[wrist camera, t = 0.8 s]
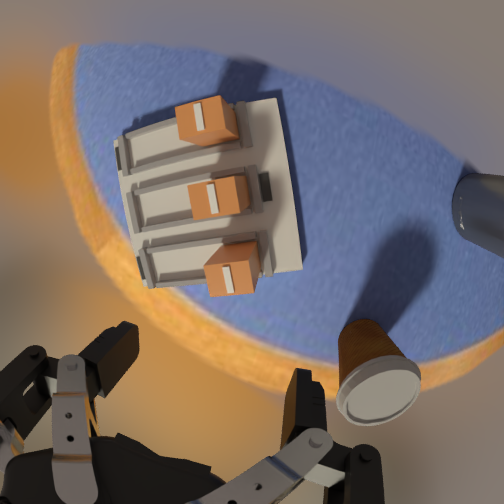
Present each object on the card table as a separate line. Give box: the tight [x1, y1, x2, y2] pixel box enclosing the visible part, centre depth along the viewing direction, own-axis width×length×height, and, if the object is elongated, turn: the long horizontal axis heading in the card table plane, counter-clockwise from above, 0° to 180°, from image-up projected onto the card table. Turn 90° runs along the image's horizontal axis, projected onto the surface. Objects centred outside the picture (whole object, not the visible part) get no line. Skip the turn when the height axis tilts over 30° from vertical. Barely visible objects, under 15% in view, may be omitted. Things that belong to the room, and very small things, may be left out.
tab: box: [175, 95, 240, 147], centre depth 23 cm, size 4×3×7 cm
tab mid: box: [187, 176, 251, 220], centre depth 25 cm, size 4×3×7 cm
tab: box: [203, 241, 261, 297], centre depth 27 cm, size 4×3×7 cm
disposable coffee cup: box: [336, 319, 421, 426], centre depth 28 cm, size 10×10×12 cm
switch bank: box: [114, 98, 303, 289], centre depth 30 cm, size 20×19×2 cm
